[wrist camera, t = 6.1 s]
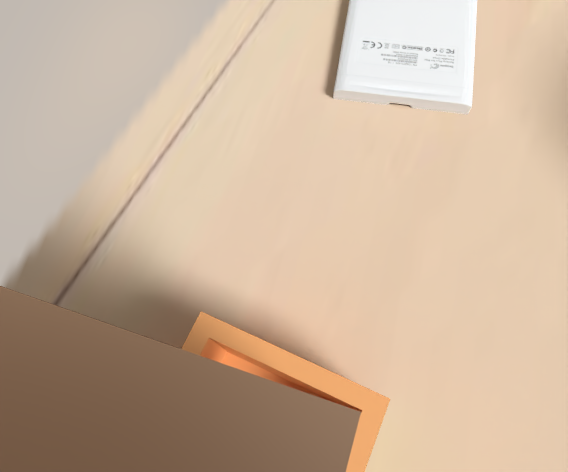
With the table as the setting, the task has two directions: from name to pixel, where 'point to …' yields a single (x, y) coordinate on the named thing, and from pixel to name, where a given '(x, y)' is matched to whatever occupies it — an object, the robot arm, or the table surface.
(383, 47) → the external hard drive
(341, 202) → the table surface
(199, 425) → the walnut block
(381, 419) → the orange caddy
